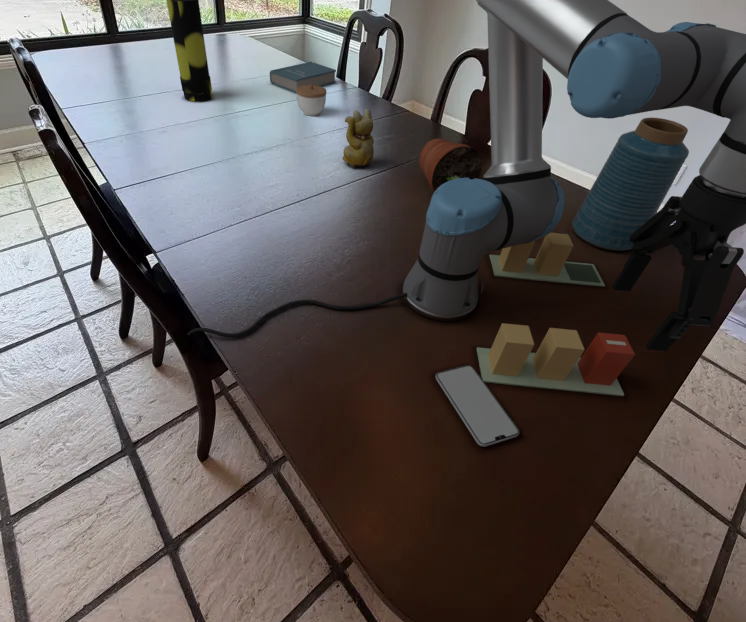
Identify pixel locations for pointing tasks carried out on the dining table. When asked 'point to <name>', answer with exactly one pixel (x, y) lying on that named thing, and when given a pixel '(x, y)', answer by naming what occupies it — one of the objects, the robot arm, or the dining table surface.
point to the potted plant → (448, 162)
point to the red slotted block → (605, 358)
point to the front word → (538, 361)
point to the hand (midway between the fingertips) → (636, 316)
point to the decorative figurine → (359, 139)
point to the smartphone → (477, 406)
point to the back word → (545, 263)
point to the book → (302, 76)
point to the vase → (632, 184)
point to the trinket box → (311, 99)
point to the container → (190, 49)
